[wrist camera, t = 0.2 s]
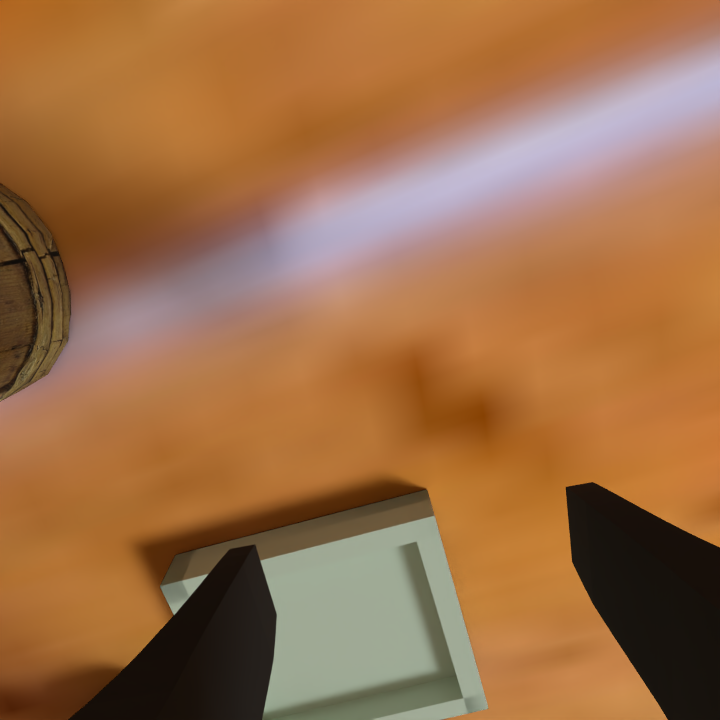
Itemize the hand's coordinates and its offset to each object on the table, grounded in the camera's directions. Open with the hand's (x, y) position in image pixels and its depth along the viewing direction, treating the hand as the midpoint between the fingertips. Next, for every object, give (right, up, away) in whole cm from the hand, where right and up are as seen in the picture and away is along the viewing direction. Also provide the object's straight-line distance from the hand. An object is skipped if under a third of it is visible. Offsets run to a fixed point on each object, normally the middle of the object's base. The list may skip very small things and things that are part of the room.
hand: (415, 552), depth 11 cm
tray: (-3, -8, +13) cm, 15 cm away
